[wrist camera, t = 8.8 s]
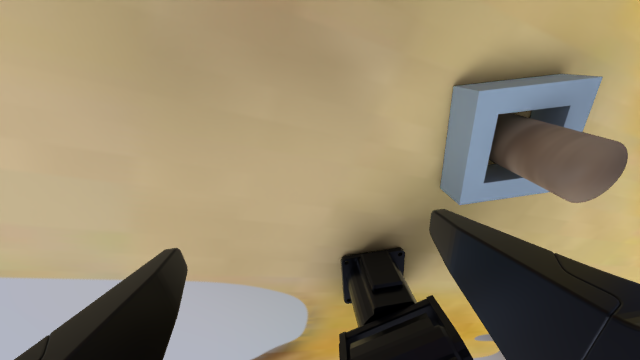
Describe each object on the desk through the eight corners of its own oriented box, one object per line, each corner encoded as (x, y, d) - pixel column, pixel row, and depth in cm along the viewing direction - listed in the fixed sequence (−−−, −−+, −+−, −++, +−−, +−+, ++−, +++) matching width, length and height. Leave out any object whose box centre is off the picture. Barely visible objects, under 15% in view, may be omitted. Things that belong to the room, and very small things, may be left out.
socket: (531, 175, 25) (560, 190, 22) (440, 188, 24) (459, 205, 21) (561, 73, 21) (602, 76, 18) (453, 86, 20) (479, 91, 17)
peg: (511, 153, 23) (610, 197, 16) (469, 159, 23) (551, 207, 16) (523, 108, 22) (639, 136, 15) (477, 114, 21) (573, 145, 14)
